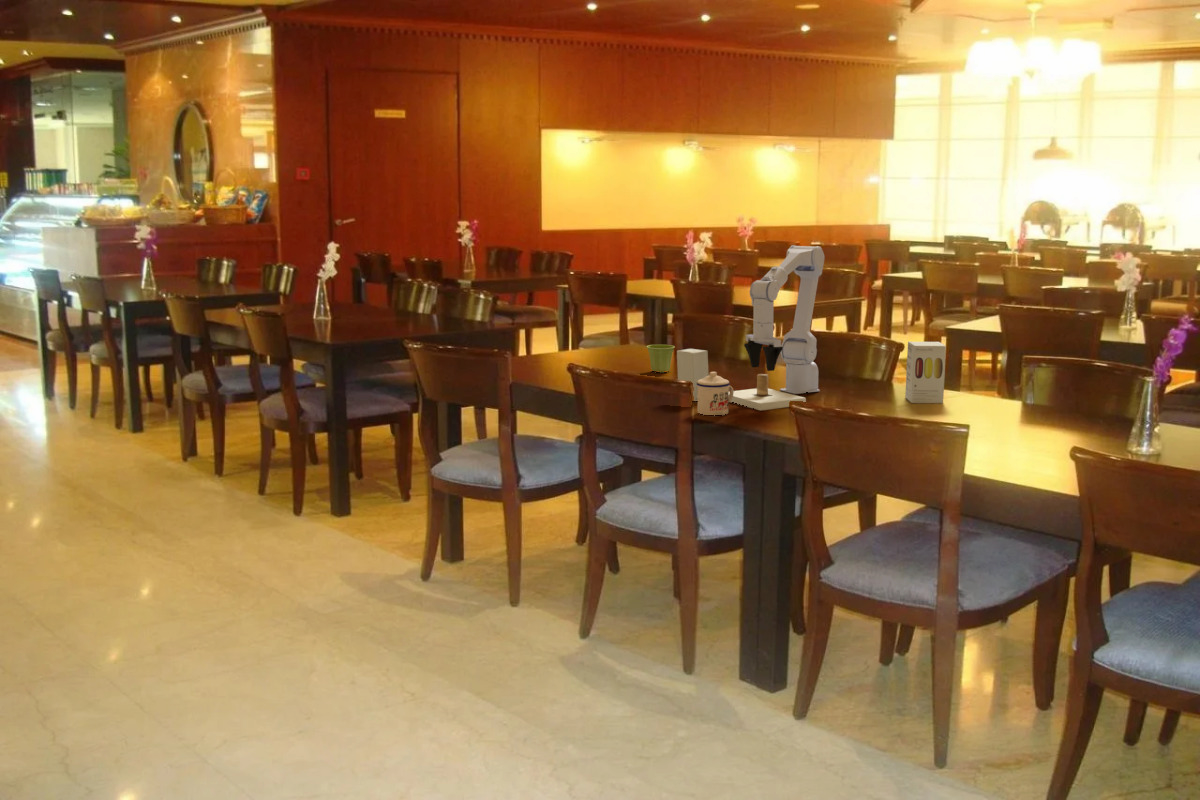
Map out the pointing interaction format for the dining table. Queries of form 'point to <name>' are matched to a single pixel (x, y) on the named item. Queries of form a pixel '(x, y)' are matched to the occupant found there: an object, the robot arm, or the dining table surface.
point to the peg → (762, 385)
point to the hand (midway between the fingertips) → (762, 368)
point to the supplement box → (925, 372)
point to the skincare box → (692, 367)
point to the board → (764, 399)
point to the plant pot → (660, 357)
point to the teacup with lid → (714, 395)
